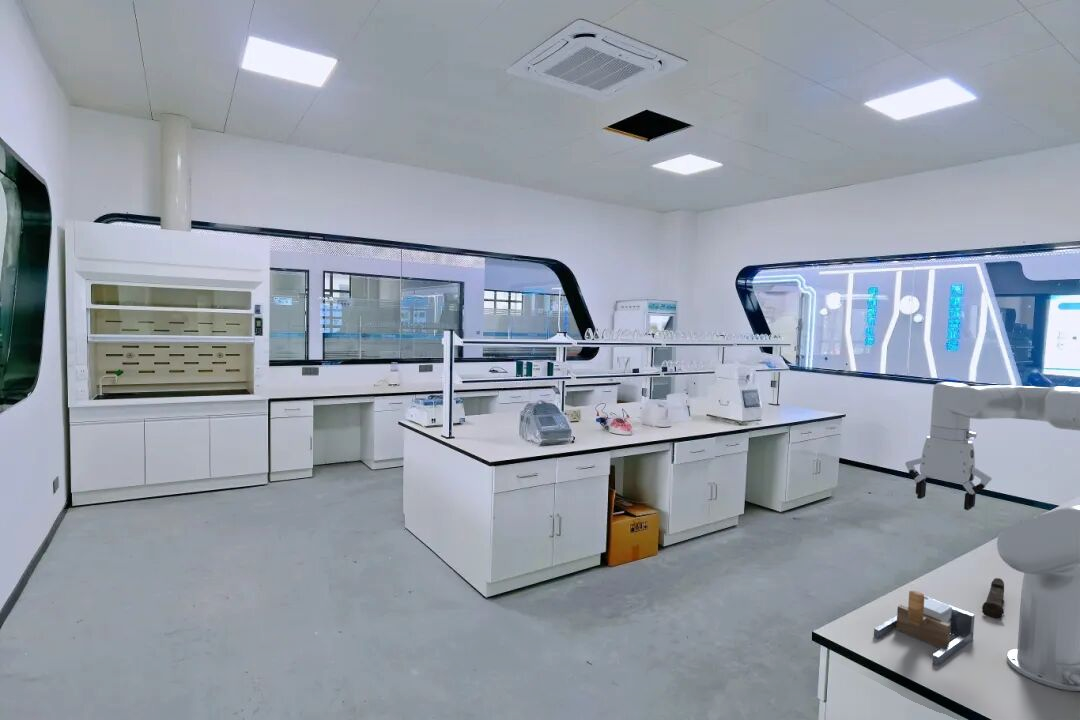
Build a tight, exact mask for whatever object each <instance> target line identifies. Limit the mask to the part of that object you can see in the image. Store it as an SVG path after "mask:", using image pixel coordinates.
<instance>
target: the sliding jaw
mask: <svg viewBox="0 0 1080 720" xmlns="http://www.w3.org/2000/svg"><path fill="white" fill-rule="evenodd" d="M924 596H925V594H924V593H922V592H920V591H917V590H910V591H909V592H908V605H907V606H908V607H907V606H905V605H902V604H899V605H898V606H897V608H896V609H897V612H896V616H897V626H896V629H895V630H897V631H900V632H901V633H904V634H907V635H909V636H911V637H913V638H916V639H919V640H920V641H923V642H926V643H927V644H930V645H931V646H932V645H933V646H934V647H937V648H939V649H941V648H943V647H944V646H946V645H947V644H949V643H950V642H951V641H950V640H951V634H950V627H951V624H948V623H946V622H943V621H941V620H938V619H936V618H933V617H931V616H928V615H926V614H923V612H924Z"/></svg>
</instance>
